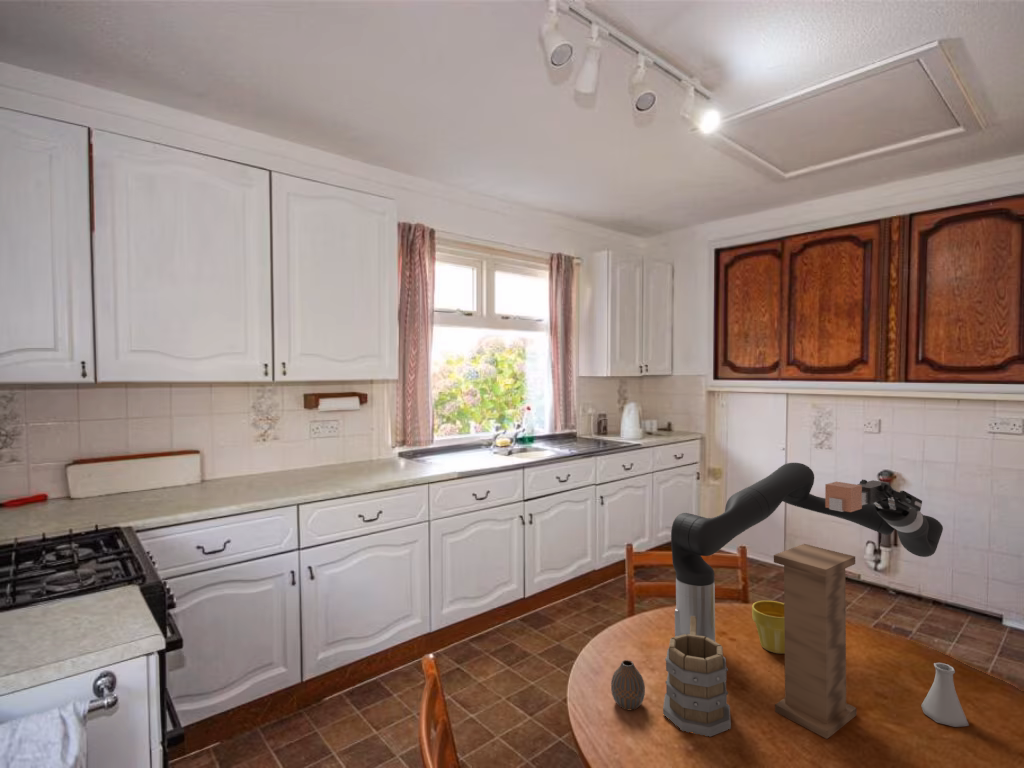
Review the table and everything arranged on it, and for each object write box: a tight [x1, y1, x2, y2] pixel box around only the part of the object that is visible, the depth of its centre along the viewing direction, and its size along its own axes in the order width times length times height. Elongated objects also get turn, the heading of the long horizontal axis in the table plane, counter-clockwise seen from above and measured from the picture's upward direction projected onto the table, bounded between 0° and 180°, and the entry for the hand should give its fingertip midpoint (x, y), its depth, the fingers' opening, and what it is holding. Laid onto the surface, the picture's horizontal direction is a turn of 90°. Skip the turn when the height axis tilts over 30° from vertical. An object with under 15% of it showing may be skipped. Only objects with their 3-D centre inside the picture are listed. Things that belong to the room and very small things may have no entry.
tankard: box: [662, 616, 732, 738], centre depth 110 cm, size 20×13×15 cm, turn 160°
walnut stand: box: [773, 543, 857, 740], centre depth 106 cm, size 12×10×32 cm
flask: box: [920, 662, 970, 728], centre depth 105 cm, size 7×7×10 cm
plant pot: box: [751, 600, 785, 655], centre depth 132 cm, size 10×10×10 cm
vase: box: [610, 659, 646, 710], centre depth 110 cm, size 7×7×9 cm
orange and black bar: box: [824, 479, 891, 512], centre depth 117 cm, size 22×5×5 cm, turn 124°
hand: (872, 485), depth 121 cm, fingers closed on orange and black bar, 3 cm apart
